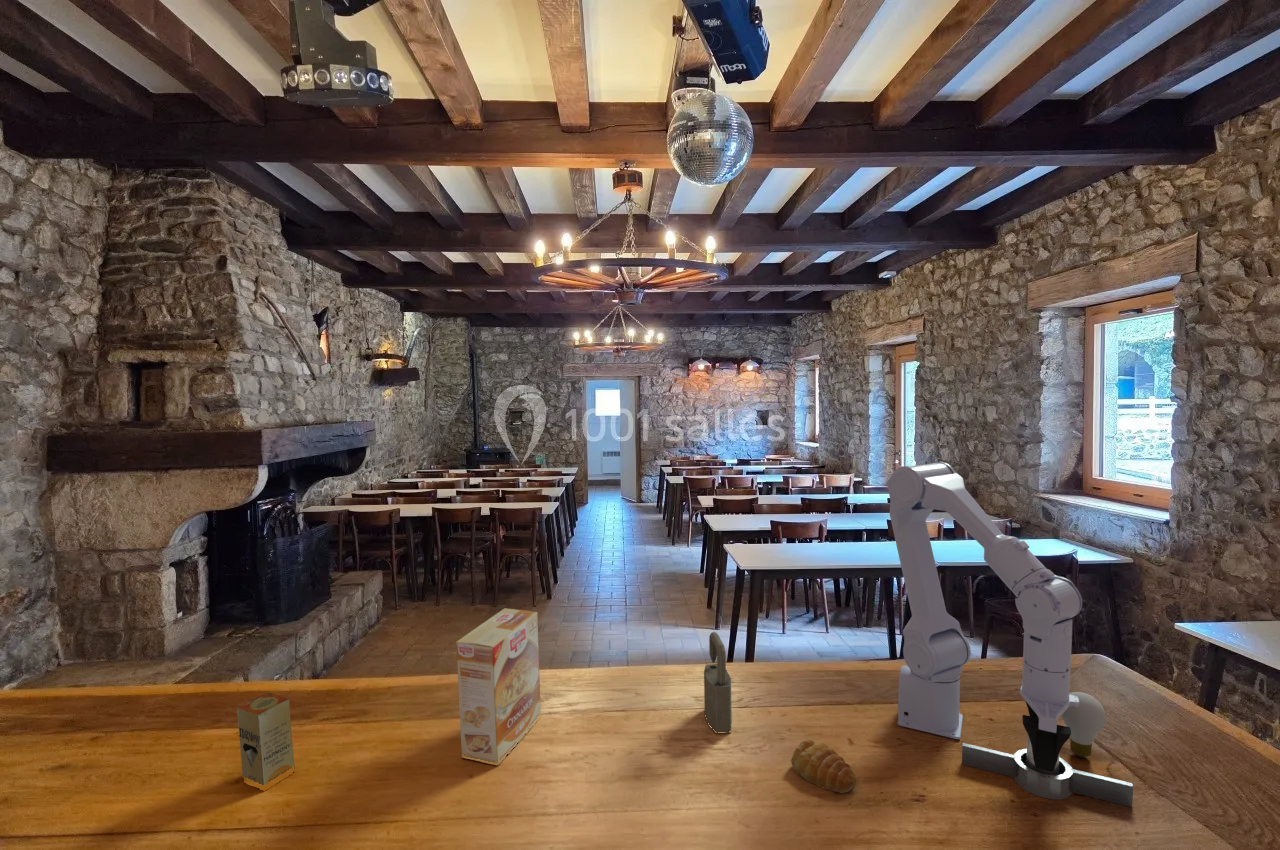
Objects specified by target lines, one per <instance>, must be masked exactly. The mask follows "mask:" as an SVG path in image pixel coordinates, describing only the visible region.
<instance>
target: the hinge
mask: <svg viewBox="0 0 1280 850" xmlns="http://www.w3.org/2000/svg"><path fill="white" fill-rule="evenodd" d="M961 748H962V749H961V750H962V751H961V764H962V765H963V766H968V767H972V768H974V769H975V768H976V769H980V770H984V771H988V772H992V773H996V774H998V775H1003V776H1007V777H1011V778H1013V779H1014V781H1015V782H1016V784H1017V785H1018V786H1019V787H1021V788H1022V789H1023V790H1025V791H1026V792H1028V793H1030V794H1033V795H1035V796H1036V797H1040V798H1044V799H1048V800H1059V801H1060V800H1061V801H1062V800H1065V799H1068V798H1070V796H1071V795H1072V794H1078V795H1080V796H1081V795H1082V796H1085V797H1090V798H1093V799H1098V800H1101V801H1106V802H1109V803H1115V804H1118V805H1122V806H1126V807H1129V808H1133V802H1134V801H1133V799H1134V798H1133V797H1134V785H1133V783H1132V782H1128V781H1125V780H1121V779H1116V778H1112V777H1109V776H1108V777H1107V776H1103V775H1099V774H1095V773H1091V772H1087V771H1082V770H1078V769H1074V768H1073V767H1072V766H1071V765H1070V763H1068V761H1067V760H1065V759H1064V758H1062V757H1061V756H1059V775H1057V776H1054V775H1046V774H1041V773H1038V772H1036V771H1034V770H1031V769H1030V768H1028V767H1027V766H1026V754H1027V748H1023V749H1019V750H1017V751H1016V752H1015V753H1013V754H1012V753H1007V752H1002V751H999V750H996V749H995V750H994V749H990V748H987V747H982V746H978V745H973V744H970V743H965V742H962V747H961Z"/></svg>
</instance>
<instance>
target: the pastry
mask: <svg viewBox="0 0 1280 850" xmlns="http://www.w3.org/2000/svg"><path fill="white" fill-rule="evenodd" d="M790 762H791V765H792V767H793V769H794V770H795V772H796V774H797V775H798V776H801V777H802V778H804V780H806V781H807V782H809V783H811V782H812V783H811V784H814V785H815V784H816V786H817V785H819V786H818V787H820V786H821V787H820V788H822V787H824V788H826V789H825V790H827V789H828V790H827V791H829V790H831V791H830V792H836V793H840V794H845V793H849V791H851V790H852V789H854V787H855V783H856V781H857V777H856V774H855V773H854V771H853V770H852V768H851V766H850V764H848V763H846V760H844V757H842V756H840V755H839V754H838V753H837V752H836V750H834V749H833V748H830V747H829V746H828V745H827V744H825V743H824V742H822V743H821V742H820V743H817V742H816V741H815V740H814V739H805V740H803V741H801V742H800V744H799V745H798V746H797V747H796V748H795V750H794V752H793V754H792V758H791V759H790ZM824 788H823V789H824Z"/></svg>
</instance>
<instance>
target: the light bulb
mask: <svg viewBox="0 0 1280 850" xmlns="http://www.w3.org/2000/svg"><path fill="white" fill-rule="evenodd" d="M1069 694H1070V695H1074V696H1077V697H1078V698H1079V706H1078V707H1075V706H1069V707H1068V708H1067V709H1066V710H1065V712H1064V713H1063V714H1062V715H1061V716H1060V717H1061V719H1062V721H1063V722H1064V725H1065V726H1066V727H1070V728H1071V736H1070V738H1069V741H1070V742H1069V744H1070V752H1072V753H1073V754H1074V755H1076V756H1077V757H1078V758H1081V759H1082V758H1086V757H1090V756H1091V755H1092V746H1093V743H1094V741H1095V739H1096V736H1097V735H1098V733H1099V732H1100V731H1102V729H1103V728H1105V725H1106V722H1107V716H1106V715H1107V713H1106V712H1105V708H1104V707H1103V705H1102V704H1101V702H1100V701H1099V700H1098V699H1096V698H1095V696H1093V695H1091V694H1088V693H1086V692H1082V691H1072V692H1069Z"/></svg>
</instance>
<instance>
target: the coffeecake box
mask: <svg viewBox="0 0 1280 850" xmlns="http://www.w3.org/2000/svg"><path fill="white" fill-rule="evenodd" d="M538 620H539V619H538V612H537V611H532V610H524V609H515V608H505V607H504V608H503V609H501V610H500V611H499V612H497V613H495V614H494V615H493V616H491V617H490V618H489V619H487V620H486V621H484V622H483V623H481V624H480V625H478V626H477V627H475V628H474V629H472V630H471V631H469V632H468V633H466V635H464V636H463V637H461V638H460V639H458V640H457V641H456V642H455V643H456V655H457V656H456V659H457V662H456V664H457V683H458V701H459V704H458V705H459V707H458V708H459V726H460V728H459V729H460V730H459V731H460V744H461V745H460V747H461V748H460V750H461V756H462V755H464V756H466V757H470V758H474V759H480V760H484V761H488V762H493V763H498V762H500V761H501V759H502V758H503V757H504V756H505V755H506V754H507V753H508V752H509V751H510V750H511V749H512V748H513V747H514V746H515V744H516V743H517V742H518V741H519V740H520V738H521V737H522V736H523V735H524V733H525V732H526V731H527V730H528V729H529V727H530V726H531V725H532V724H533V723H534V721H535V720H536V719H537V717H538V716H539V715H540V714H541V715H542V709H541V686H540V685H541V684H540V681H541V680H540V678H541V677H540V655H539V654H540V652H539V651H540V650H539V630H538V628H539V627H538V626H539V625H538V624H539V621H538Z"/></svg>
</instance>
